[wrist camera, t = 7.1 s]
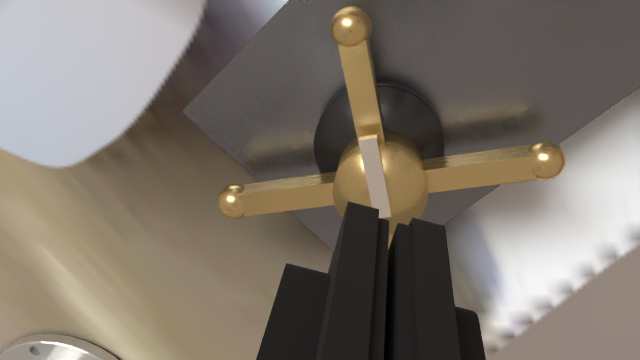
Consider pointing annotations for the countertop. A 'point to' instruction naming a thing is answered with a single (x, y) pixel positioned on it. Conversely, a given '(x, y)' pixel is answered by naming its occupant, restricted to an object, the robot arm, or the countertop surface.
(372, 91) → the capstan
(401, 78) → the stand
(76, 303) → the countertop surface
